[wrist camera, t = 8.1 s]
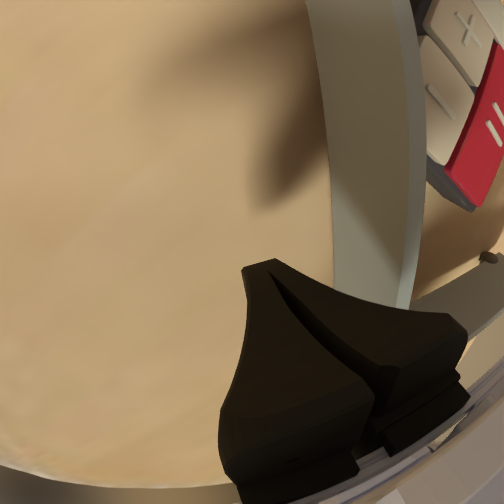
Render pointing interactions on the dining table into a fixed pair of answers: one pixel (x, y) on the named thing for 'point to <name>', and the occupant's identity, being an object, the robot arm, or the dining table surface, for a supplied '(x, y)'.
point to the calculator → (462, 94)
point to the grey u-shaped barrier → (385, 162)
